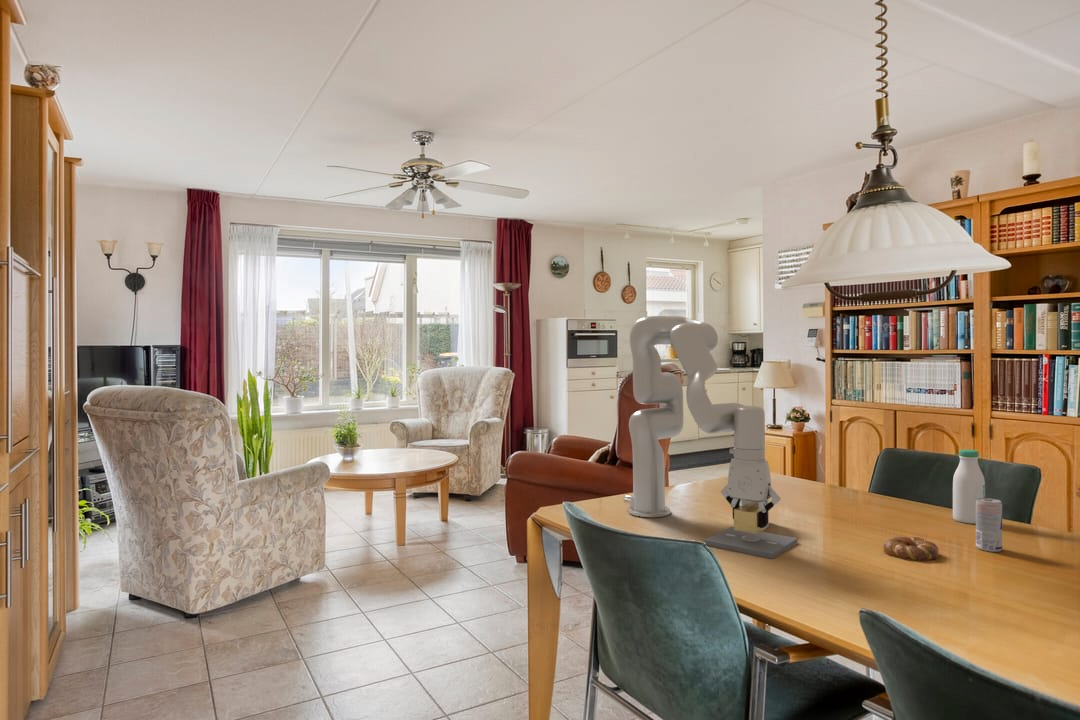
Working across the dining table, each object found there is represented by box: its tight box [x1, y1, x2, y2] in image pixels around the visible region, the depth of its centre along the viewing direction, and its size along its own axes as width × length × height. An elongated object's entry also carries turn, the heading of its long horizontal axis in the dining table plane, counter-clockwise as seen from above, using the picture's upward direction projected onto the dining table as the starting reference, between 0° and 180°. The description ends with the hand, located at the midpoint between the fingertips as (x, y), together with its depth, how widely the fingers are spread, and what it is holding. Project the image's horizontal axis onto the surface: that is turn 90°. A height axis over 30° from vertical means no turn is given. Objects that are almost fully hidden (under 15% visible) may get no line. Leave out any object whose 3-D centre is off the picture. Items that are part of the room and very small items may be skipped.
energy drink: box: [975, 497, 1003, 553], centre depth 163 cm, size 5×5×12 cm
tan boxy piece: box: [733, 501, 767, 534], centre depth 170 cm, size 7×6×6 cm
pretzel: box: [882, 536, 939, 562], centre depth 160 cm, size 12×11×4 cm
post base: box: [703, 525, 799, 560], centre depth 170 cm, size 18×16×5 cm
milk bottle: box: [952, 448, 986, 525], centre depth 187 cm, size 8×8×20 cm
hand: (750, 524), depth 170 cm, fingers closed on tan boxy piece, 6 cm apart
